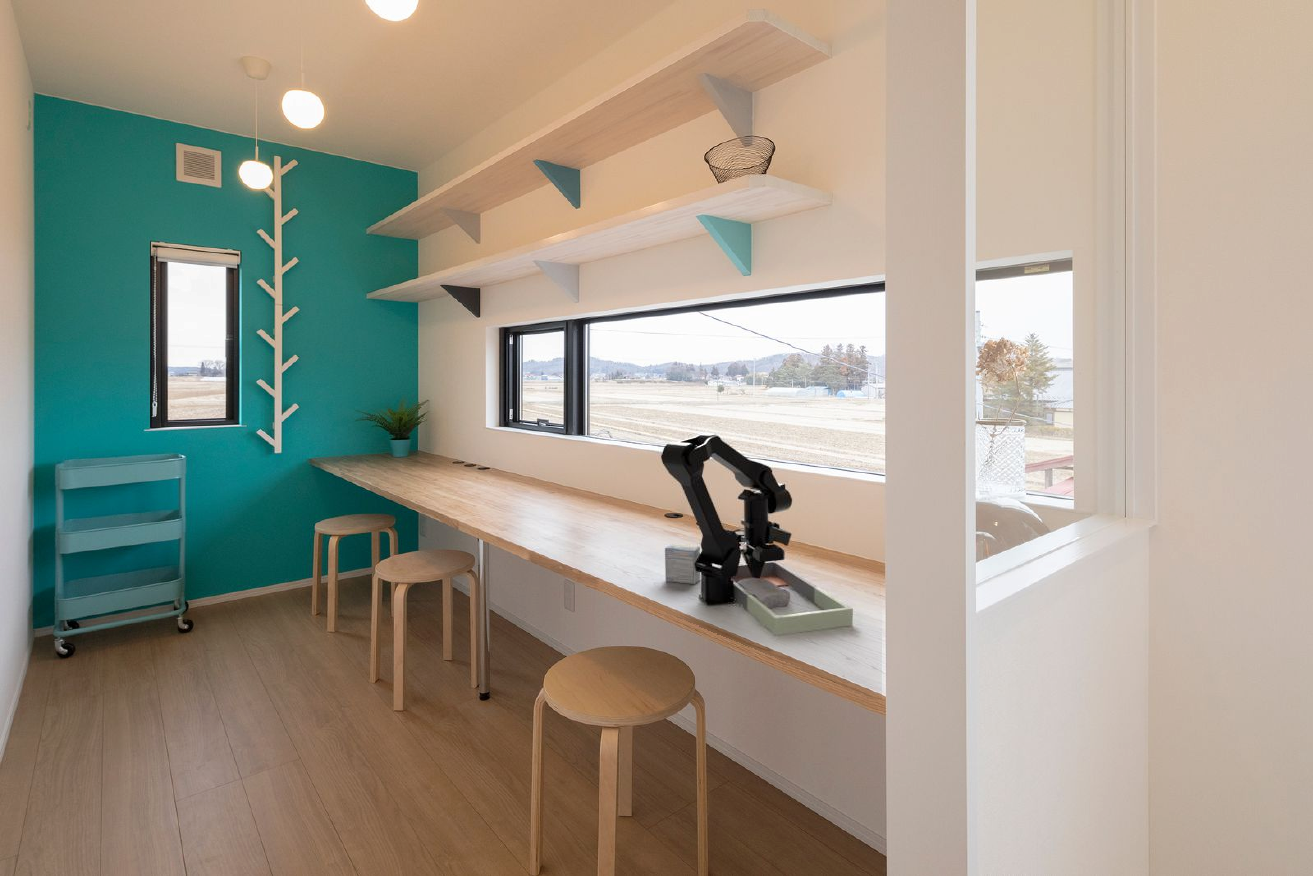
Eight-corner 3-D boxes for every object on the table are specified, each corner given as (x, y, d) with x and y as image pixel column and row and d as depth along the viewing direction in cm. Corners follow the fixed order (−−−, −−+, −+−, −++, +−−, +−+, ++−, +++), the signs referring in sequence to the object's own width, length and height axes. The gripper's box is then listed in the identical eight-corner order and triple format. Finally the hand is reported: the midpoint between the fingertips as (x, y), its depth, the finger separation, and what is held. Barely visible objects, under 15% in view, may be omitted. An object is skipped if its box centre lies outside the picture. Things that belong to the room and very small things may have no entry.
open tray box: (775, 635, 129) (775, 618, 128) (712, 580, 163) (712, 567, 163) (852, 625, 133) (852, 608, 133) (775, 574, 168) (775, 560, 167)
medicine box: (700, 579, 165) (700, 545, 164) (695, 585, 161) (694, 550, 160) (671, 576, 168) (670, 543, 167) (665, 581, 163) (664, 547, 163)
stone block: (767, 597, 156) (730, 595, 153) (771, 577, 156) (734, 575, 152) (795, 616, 145) (756, 614, 142) (799, 595, 145) (760, 592, 141)
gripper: (805, 522, 150) (805, 589, 152) (770, 507, 168) (770, 566, 169) (760, 526, 147) (760, 594, 149) (729, 510, 165) (729, 570, 166)
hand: (756, 580), depth 158 cm, fingers closed
